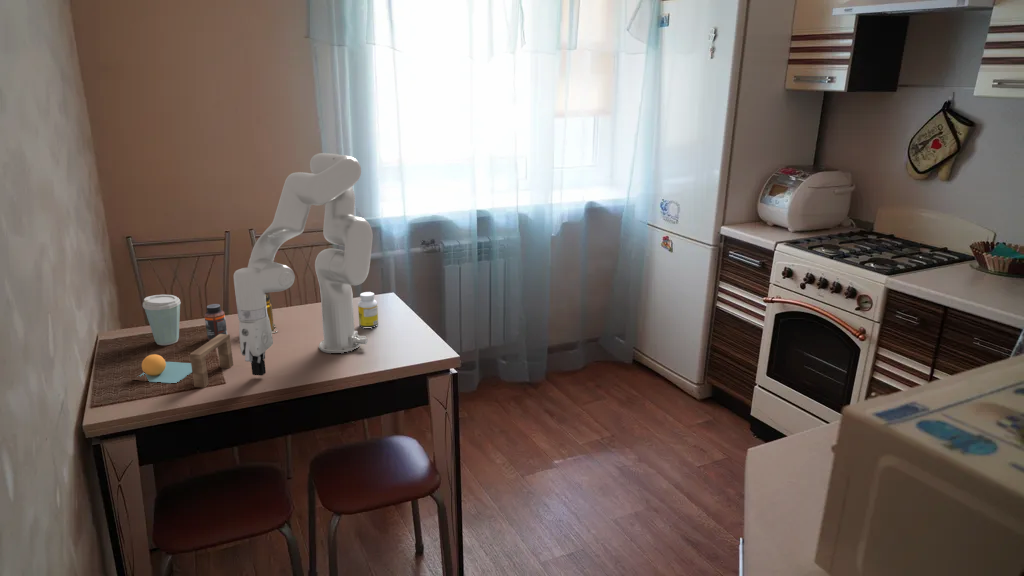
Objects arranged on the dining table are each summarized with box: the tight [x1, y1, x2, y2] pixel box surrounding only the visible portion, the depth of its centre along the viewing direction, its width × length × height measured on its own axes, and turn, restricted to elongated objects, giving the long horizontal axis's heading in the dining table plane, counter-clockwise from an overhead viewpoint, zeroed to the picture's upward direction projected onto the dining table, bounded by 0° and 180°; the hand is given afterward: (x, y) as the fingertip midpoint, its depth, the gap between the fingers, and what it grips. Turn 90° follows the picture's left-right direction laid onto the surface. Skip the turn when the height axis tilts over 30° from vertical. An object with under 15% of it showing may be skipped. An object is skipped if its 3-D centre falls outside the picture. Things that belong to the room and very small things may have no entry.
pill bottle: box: [357, 291, 379, 328], centre depth 225 cm, size 6×6×12 cm
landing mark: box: [138, 360, 192, 384], centre depth 189 cm, size 13×13×1 cm
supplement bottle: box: [204, 303, 228, 342], centre depth 212 cm, size 6×6×11 cm
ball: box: [141, 353, 167, 376], centre depth 186 cm, size 6×6×6 cm
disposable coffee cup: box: [142, 294, 182, 346], centre depth 208 cm, size 11×11×15 cm
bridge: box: [189, 333, 234, 389], centre depth 186 cm, size 3×15×10 cm, turn 173°
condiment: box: [265, 294, 278, 334], centre depth 220 cm, size 7×8×12 cm
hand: (259, 373), depth 186 cm, fingers closed
